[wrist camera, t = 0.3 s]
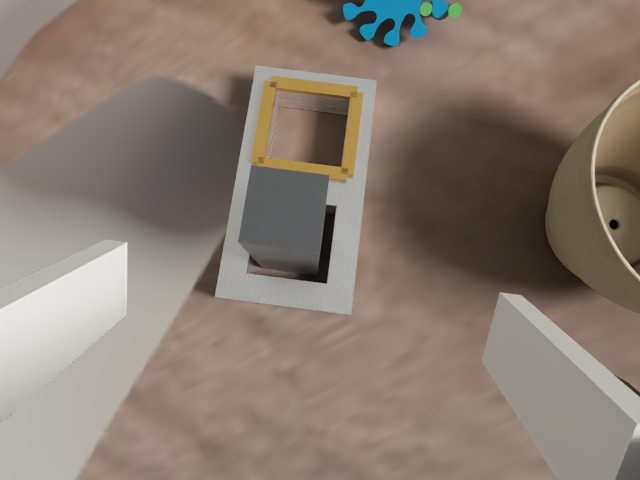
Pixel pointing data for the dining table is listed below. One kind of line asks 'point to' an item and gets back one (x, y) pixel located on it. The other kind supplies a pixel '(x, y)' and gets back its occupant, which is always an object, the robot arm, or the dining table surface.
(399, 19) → the gear
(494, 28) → the dining table surface
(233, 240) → the grey slotted holder
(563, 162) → the planter bowl
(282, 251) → the peg
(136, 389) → the dining table surface
